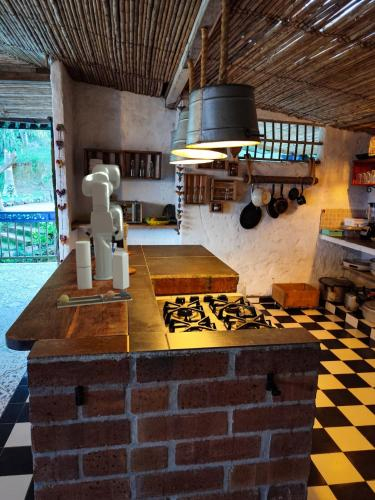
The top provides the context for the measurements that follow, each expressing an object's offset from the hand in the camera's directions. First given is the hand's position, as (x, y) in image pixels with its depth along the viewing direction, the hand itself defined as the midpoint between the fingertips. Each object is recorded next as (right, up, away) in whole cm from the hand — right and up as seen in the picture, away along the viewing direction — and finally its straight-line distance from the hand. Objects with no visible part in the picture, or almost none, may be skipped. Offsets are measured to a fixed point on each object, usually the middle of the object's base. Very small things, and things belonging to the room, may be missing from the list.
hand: (102, 244), depth 167 cm
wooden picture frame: (-9, -26, -7) cm, 28 cm away
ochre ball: (-15, -25, -9) cm, 30 cm away
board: (-3, -27, -3) cm, 27 cm away
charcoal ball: (+10, -23, -1) cm, 25 cm away
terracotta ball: (+4, -24, -3) cm, 24 cm away
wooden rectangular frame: (+7, -25, -1) cm, 26 cm away
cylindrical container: (-13, -23, +16) cm, 31 cm away
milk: (+6, -23, +17) cm, 29 cm away
